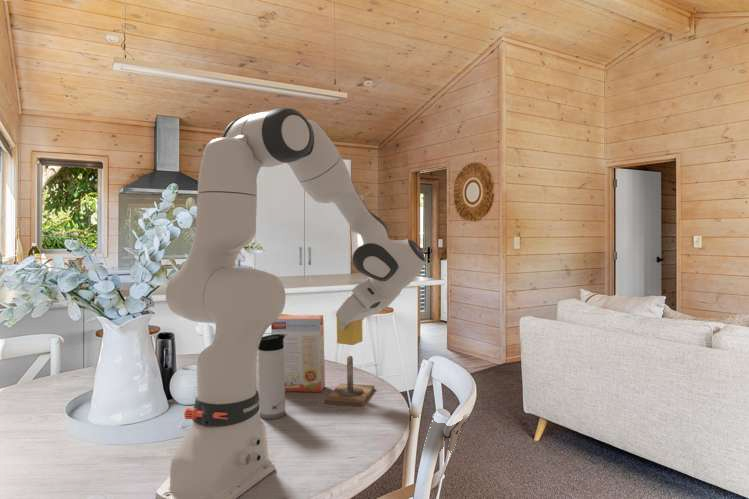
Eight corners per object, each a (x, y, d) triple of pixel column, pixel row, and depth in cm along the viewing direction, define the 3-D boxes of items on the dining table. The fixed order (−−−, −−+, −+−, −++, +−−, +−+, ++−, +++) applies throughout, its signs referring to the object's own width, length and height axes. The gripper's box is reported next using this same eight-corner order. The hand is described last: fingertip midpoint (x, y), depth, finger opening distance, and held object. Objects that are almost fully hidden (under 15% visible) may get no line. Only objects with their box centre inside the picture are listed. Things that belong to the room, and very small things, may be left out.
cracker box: (325, 386, 151) (324, 314, 150) (321, 392, 145) (320, 318, 144) (278, 385, 153) (276, 314, 152) (272, 391, 147) (270, 317, 146)
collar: (353, 345, 138) (352, 315, 138) (337, 343, 140) (336, 313, 140) (362, 341, 143) (362, 312, 142) (346, 339, 145) (346, 310, 144)
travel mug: (280, 420, 126) (279, 337, 124) (255, 418, 127) (253, 337, 126) (290, 410, 132) (288, 332, 131) (265, 409, 133) (263, 331, 132)
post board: (361, 406, 134) (361, 363, 134) (324, 403, 137) (323, 361, 136) (374, 388, 148) (373, 350, 147) (340, 386, 150) (339, 348, 150)
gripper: (389, 278, 146) (359, 310, 152) (351, 287, 128) (319, 323, 134) (403, 295, 145) (373, 327, 150) (367, 306, 127) (334, 342, 132)
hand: (347, 325), depth 142 cm, fingers closed on collar, 5 cm apart
